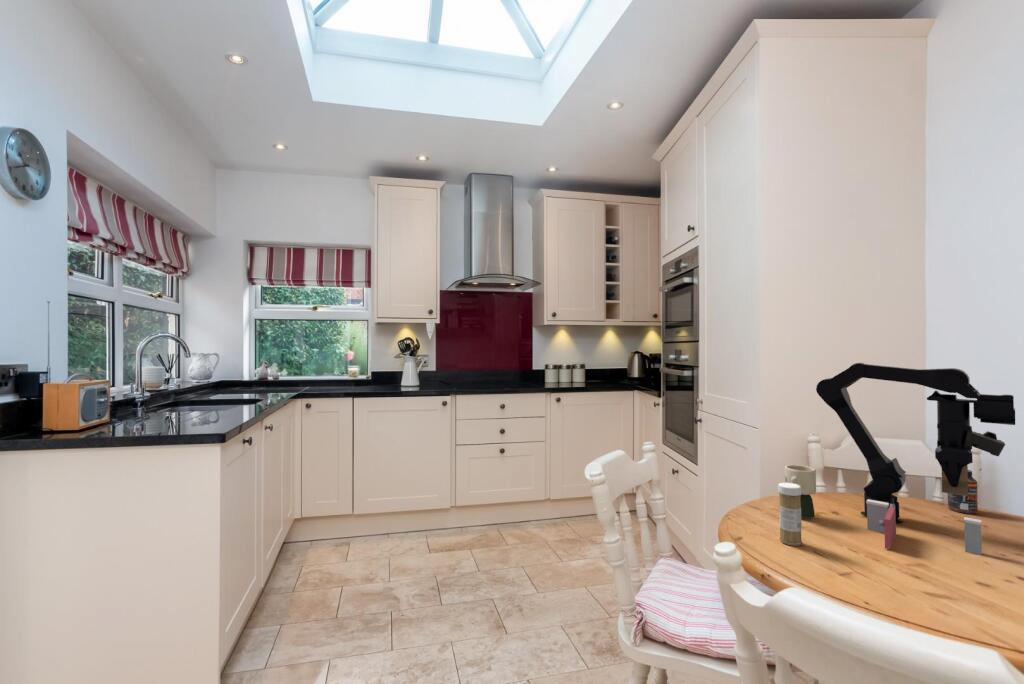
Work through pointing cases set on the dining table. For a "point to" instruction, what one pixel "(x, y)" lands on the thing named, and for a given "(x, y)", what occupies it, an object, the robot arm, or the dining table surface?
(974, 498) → the supplement bottle
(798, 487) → the sprinkles bottle
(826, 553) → the dining table surface
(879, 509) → the pair of grey plates
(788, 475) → the character mug
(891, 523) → the door
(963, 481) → the block
